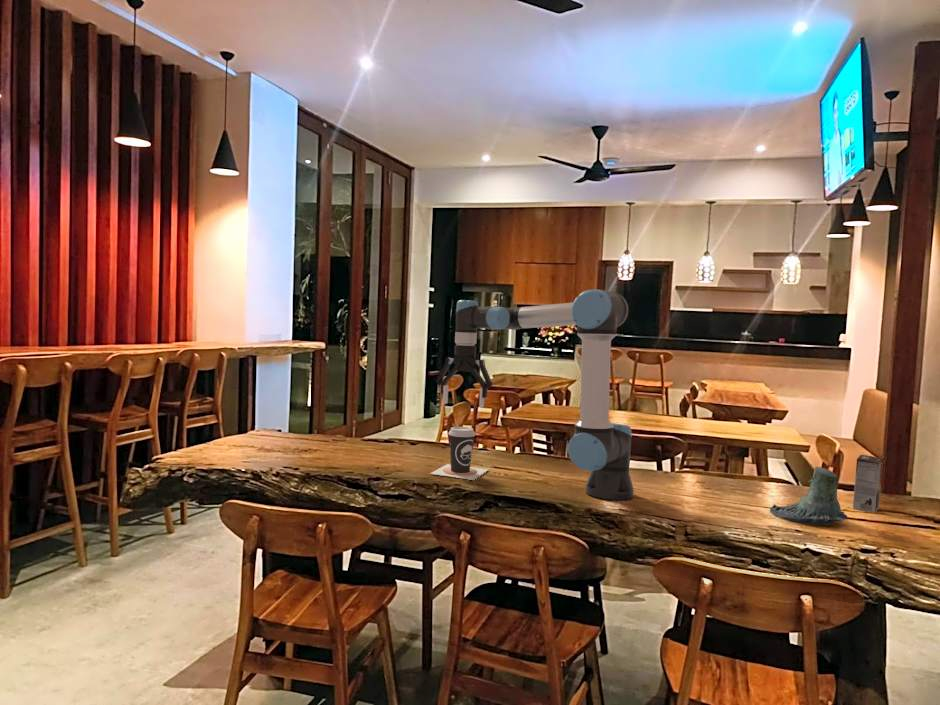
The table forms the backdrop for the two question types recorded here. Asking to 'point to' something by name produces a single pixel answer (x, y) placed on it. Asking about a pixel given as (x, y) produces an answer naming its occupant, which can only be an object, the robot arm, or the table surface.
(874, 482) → the coffee box
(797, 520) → the tree stump
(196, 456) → the table surface
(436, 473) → the coaster mat
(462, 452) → the coffee cup
